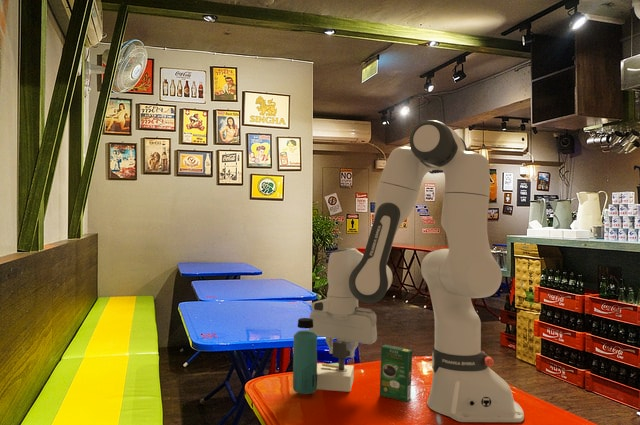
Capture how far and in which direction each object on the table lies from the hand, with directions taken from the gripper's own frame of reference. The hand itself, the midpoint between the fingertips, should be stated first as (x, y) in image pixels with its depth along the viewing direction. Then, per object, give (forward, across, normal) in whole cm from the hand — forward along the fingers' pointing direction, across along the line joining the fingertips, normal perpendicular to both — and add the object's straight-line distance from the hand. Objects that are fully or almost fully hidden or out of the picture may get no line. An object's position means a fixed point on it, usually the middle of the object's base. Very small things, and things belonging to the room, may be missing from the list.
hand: (341, 355), depth 133 cm
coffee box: (+8, -16, +1) cm, 19 cm away
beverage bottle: (+8, +4, +12) cm, 16 cm away
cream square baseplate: (+8, +3, +1) cm, 9 cm away
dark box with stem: (+4, +2, 0) cm, 4 cm away
